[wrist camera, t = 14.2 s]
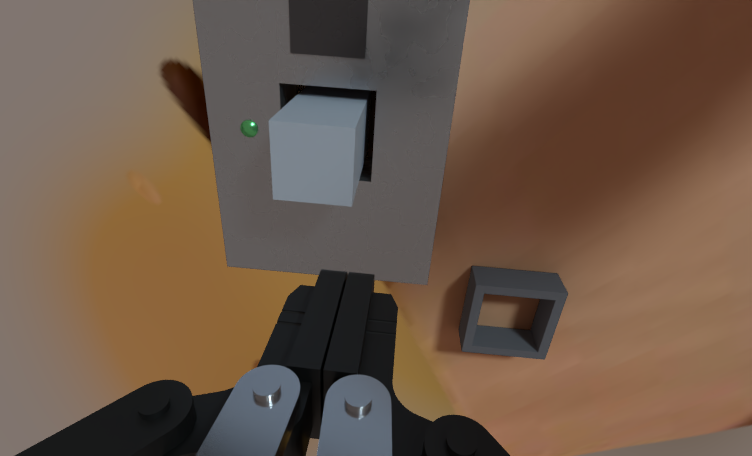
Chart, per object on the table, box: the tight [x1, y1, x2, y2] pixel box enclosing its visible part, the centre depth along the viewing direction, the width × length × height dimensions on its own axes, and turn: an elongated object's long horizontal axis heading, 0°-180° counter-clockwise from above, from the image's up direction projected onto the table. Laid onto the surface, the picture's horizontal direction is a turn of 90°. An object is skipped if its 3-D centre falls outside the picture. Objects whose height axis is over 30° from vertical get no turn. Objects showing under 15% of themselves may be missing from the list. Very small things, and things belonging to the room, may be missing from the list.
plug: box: [269, 85, 371, 207], centre depth 24 cm, size 4×4×9 cm
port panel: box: [193, 0, 470, 285], centre depth 26 cm, size 14×20×4 cm
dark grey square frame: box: [459, 266, 568, 359], centre depth 34 cm, size 7×7×2 cm
